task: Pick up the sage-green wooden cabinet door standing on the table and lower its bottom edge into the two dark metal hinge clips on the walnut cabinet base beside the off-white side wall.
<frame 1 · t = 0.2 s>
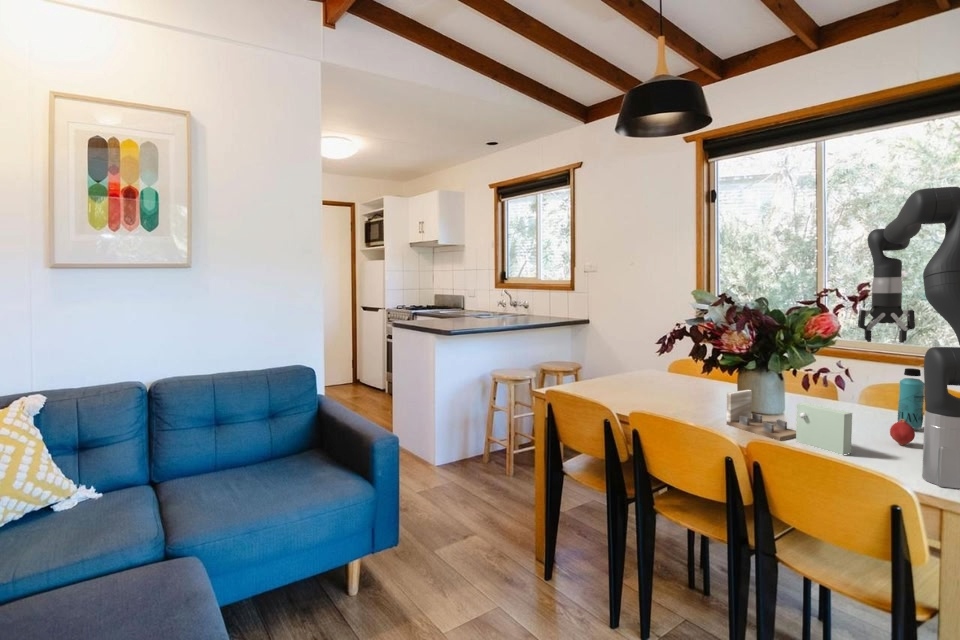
hand: (885, 342, 165), 29 cm above the table, tool pointing down, fingers open, 8 cm apart
door: (822, 447, 153), on the table
onion: (901, 445, 153), on the table
cabinet frame: (762, 430, 171), on the table
beverage bottle: (909, 429, 167), on the table
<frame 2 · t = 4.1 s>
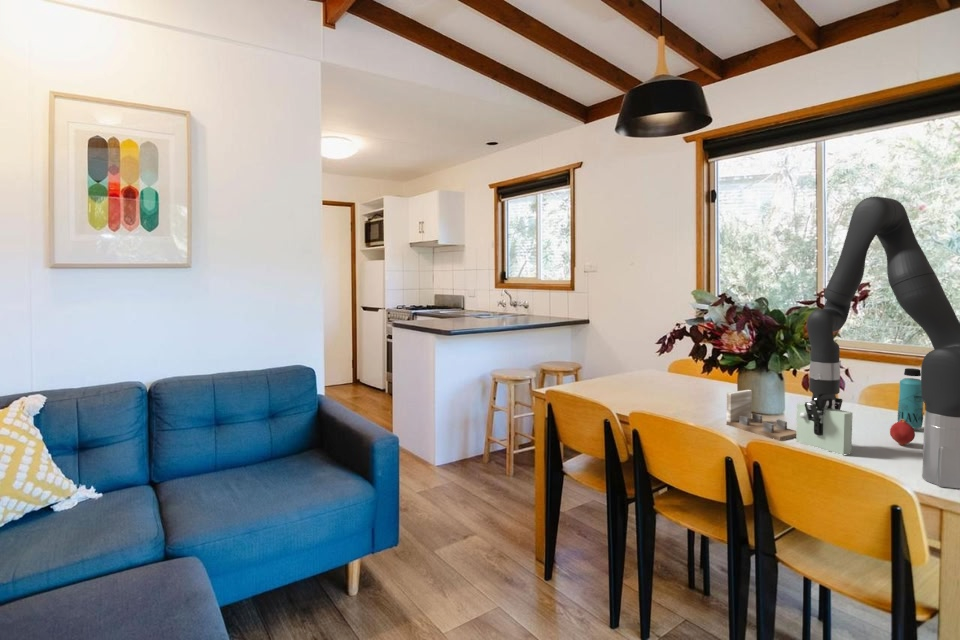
hand: (822, 433, 152), 4 cm above the table, tool pointing down, fingers closed on door, 3 cm apart
door: (822, 447, 153), on the table, touching gripper
everything else where it was.
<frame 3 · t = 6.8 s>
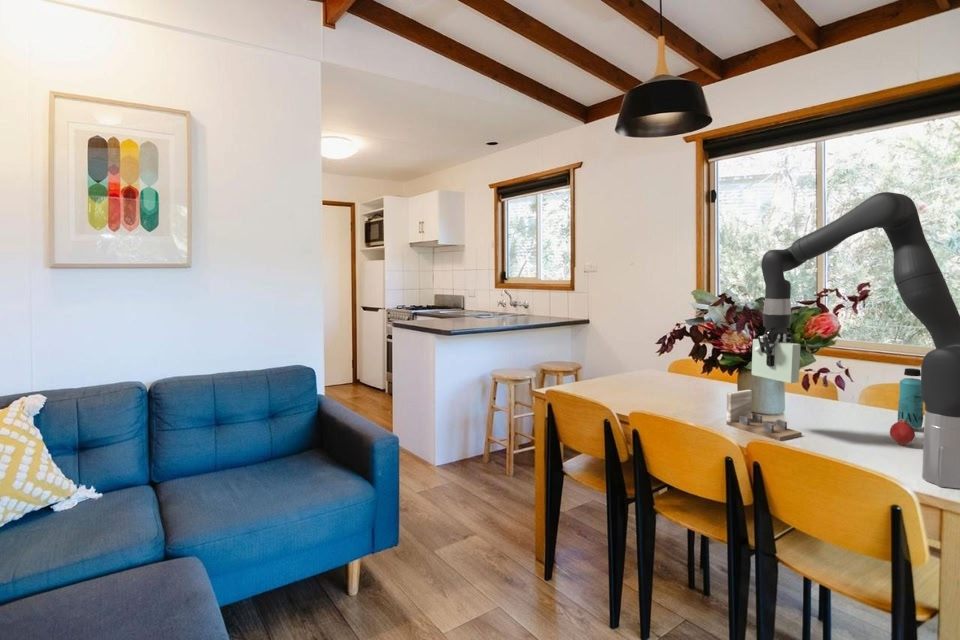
hand: (774, 365, 166), 22 cm above the table, tool pointing down, fingers closed on door, 3 cm apart
door: (774, 378, 166), point 18 cm above the table, touching gripper
everything else where it was.
when the fingers open (7 cm above the table, at t = 9.5 s): door drops 1 cm, resting on cabinet frame.
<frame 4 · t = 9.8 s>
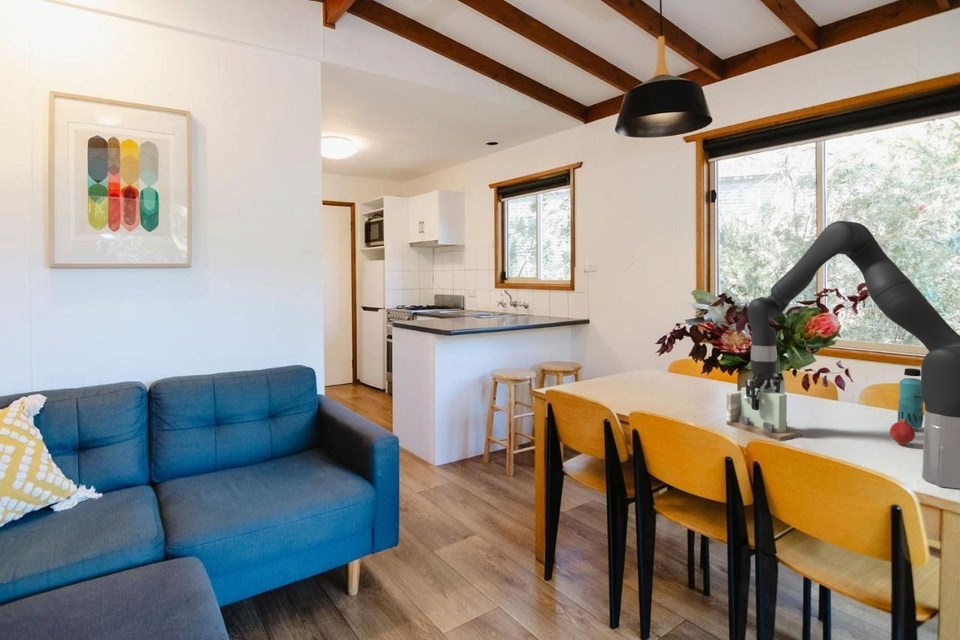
hand: (762, 408, 170), 7 cm above the table, tool pointing down, fingers open, 6 cm apart
door: (762, 426, 171), point 1 cm above the table, touching cabinet frame
everything else where it was.
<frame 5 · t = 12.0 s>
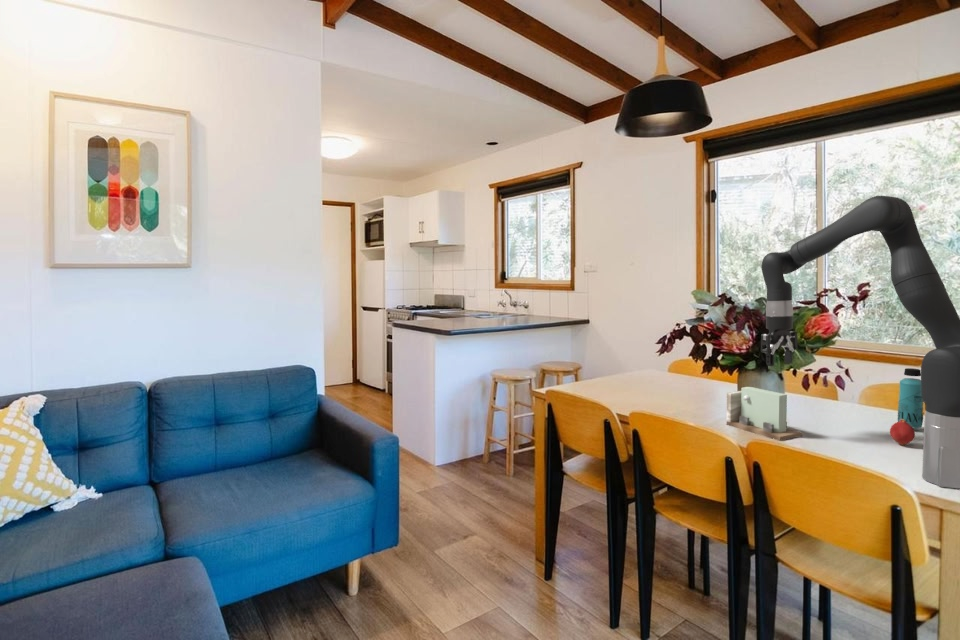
hand: (779, 364, 166), 22 cm above the table, tool pointing down, fingers open, 8 cm apart
nothing on the table moved.
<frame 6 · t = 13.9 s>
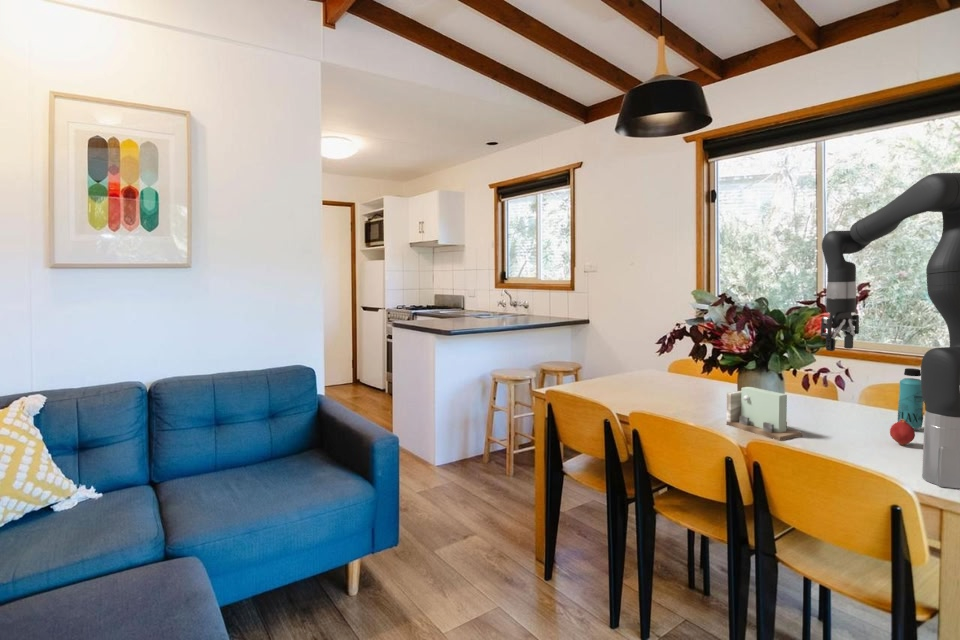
hand: (839, 349, 158), 28 cm above the table, tool pointing down, fingers open, 8 cm apart
nothing on the table moved.
at the end: door 0.1 cm off-centre on the cabinet frame, point 1.2 cm above the cabinet frame's base; door tilted 0°; the gripper is holding nothing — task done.
